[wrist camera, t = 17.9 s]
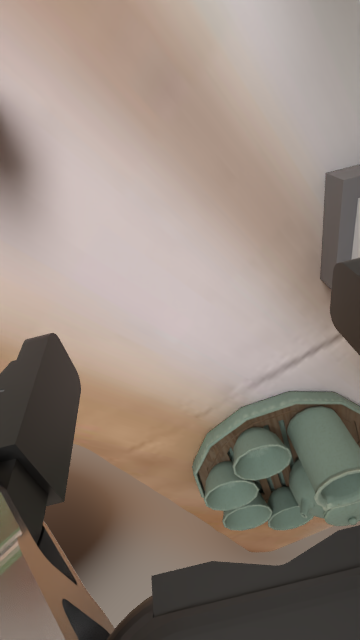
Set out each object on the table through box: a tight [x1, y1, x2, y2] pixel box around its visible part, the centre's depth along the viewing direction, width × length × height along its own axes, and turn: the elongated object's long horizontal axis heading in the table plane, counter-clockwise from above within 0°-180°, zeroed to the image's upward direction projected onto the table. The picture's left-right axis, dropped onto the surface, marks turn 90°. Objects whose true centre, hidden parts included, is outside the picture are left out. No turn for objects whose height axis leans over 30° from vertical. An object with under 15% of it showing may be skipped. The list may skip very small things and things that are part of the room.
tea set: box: [192, 391, 360, 530], centre depth 68 cm, size 40×40×16 cm
